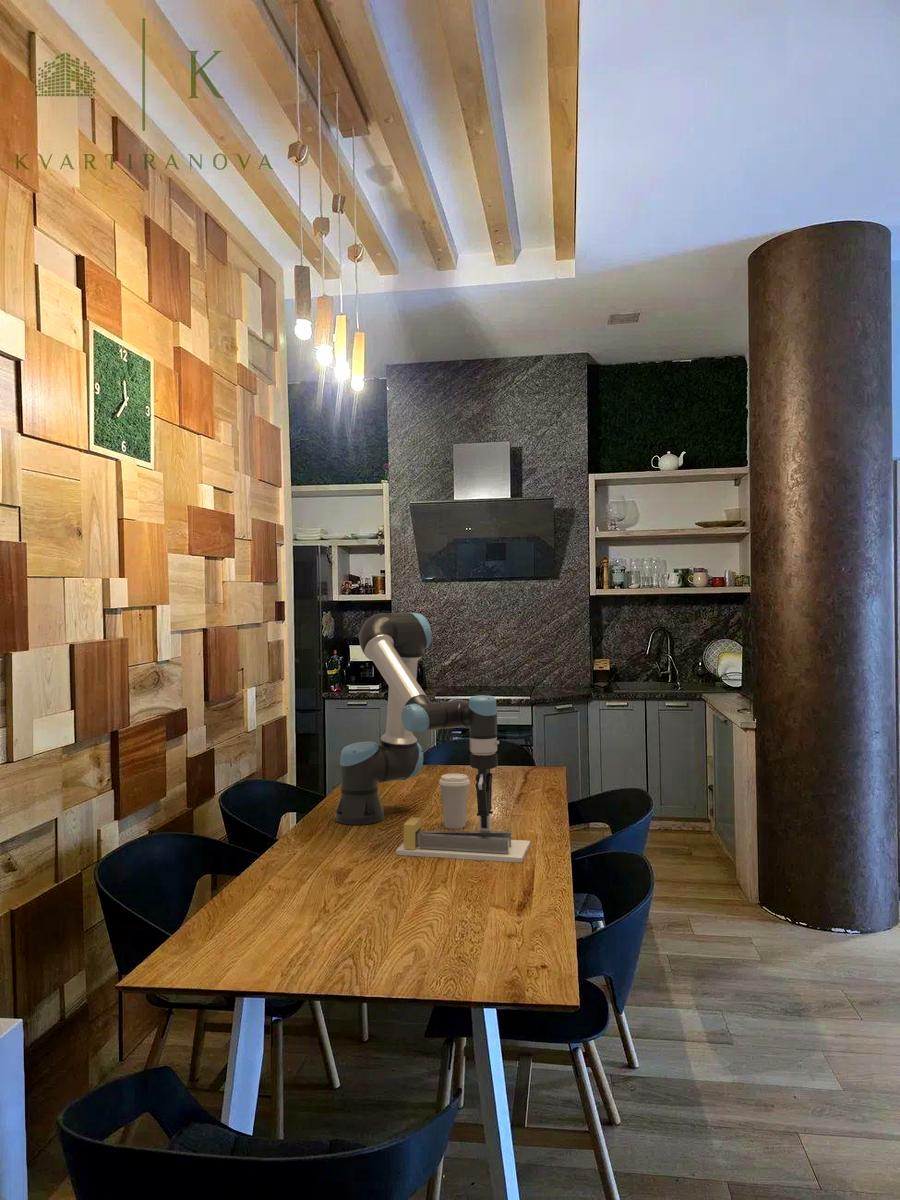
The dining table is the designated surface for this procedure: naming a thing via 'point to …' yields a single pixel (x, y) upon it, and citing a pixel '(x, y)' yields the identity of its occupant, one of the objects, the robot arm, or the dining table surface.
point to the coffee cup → (454, 799)
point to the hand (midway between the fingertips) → (485, 838)
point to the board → (472, 853)
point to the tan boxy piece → (411, 832)
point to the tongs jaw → (476, 833)
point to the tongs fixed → (462, 842)
